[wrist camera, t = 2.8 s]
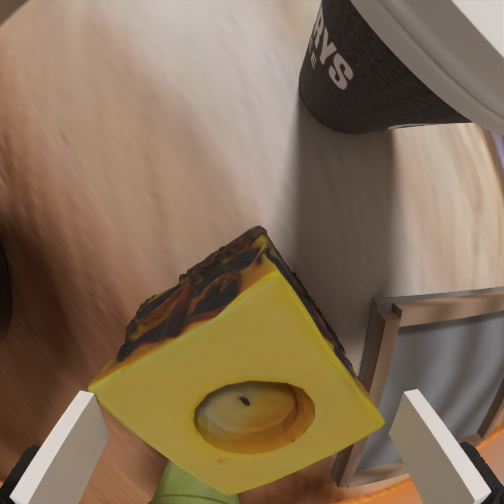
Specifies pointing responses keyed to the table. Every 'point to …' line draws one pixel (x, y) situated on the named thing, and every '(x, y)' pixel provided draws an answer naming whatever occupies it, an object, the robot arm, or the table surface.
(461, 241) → the table surface
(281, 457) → the candle
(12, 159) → the table surface
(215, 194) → the table surface
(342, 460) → the wooden serving tray
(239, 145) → the table surface
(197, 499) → the plant pot
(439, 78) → the coffee cup
